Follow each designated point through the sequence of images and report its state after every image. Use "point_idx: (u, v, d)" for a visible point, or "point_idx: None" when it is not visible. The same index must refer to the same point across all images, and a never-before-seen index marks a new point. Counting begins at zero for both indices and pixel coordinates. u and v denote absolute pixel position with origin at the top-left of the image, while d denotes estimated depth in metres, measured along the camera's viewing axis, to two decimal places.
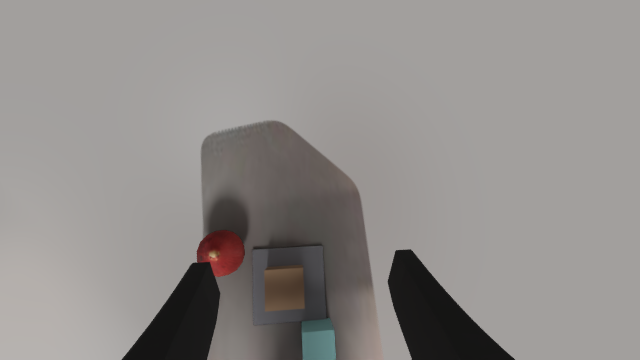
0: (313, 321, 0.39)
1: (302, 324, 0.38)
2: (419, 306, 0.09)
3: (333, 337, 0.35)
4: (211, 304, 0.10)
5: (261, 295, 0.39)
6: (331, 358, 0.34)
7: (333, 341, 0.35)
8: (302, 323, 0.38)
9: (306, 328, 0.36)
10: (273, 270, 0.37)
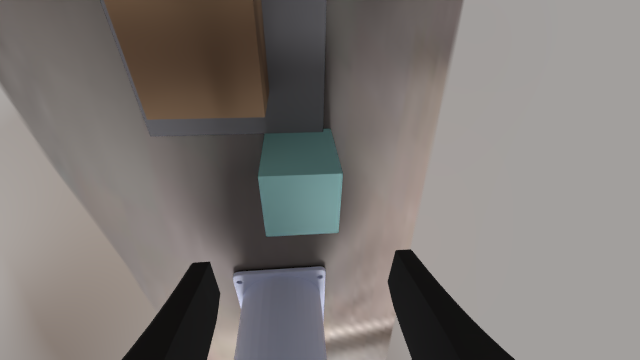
0: (292, 136, 0.16)
1: (265, 144, 0.16)
2: (419, 306, 0.09)
3: (339, 188, 0.14)
4: (211, 304, 0.10)
5: None
6: (329, 222, 0.15)
7: (337, 195, 0.14)
8: (266, 141, 0.16)
9: (271, 160, 0.14)
10: None
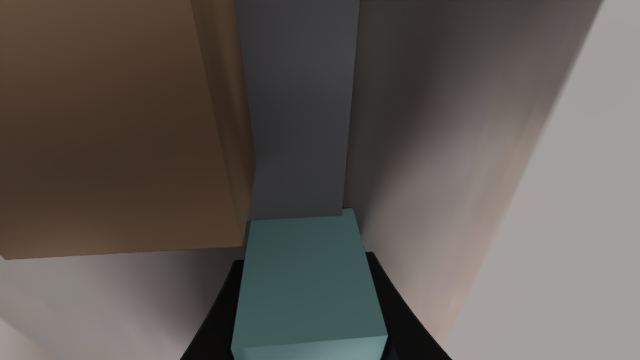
0: (294, 229, 0.10)
1: (250, 250, 0.10)
2: None
3: (378, 351, 0.08)
4: None
5: None
6: None
7: (375, 358, 0.08)
8: (251, 241, 0.10)
9: (259, 295, 0.08)
10: None
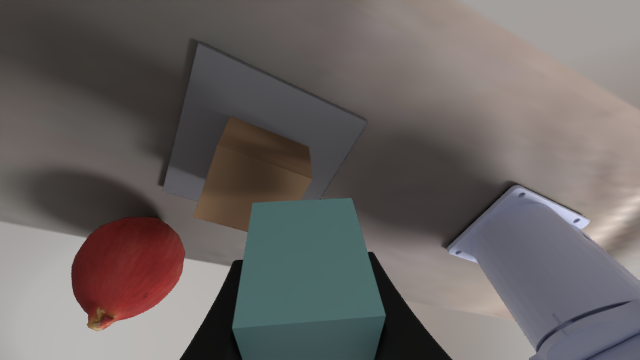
0: (294, 217, 0.11)
1: (251, 237, 0.10)
2: None
3: (376, 332, 0.08)
4: None
5: None
6: None
7: (373, 340, 0.08)
8: (252, 229, 0.10)
9: (259, 279, 0.08)
10: (200, 202, 0.15)
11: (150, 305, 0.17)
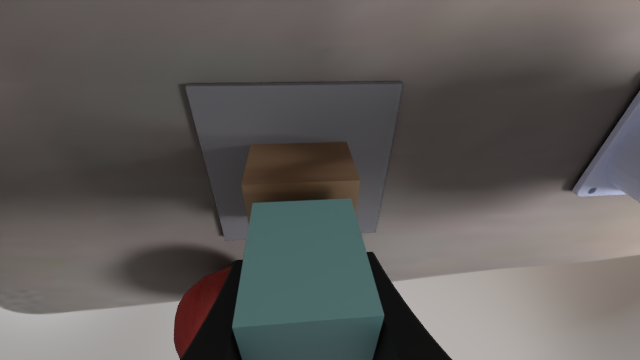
0: (294, 217, 0.11)
1: (250, 237, 0.10)
2: None
3: (375, 332, 0.08)
4: None
5: None
6: None
7: (372, 340, 0.08)
8: (252, 229, 0.10)
9: (259, 279, 0.08)
10: None
11: None
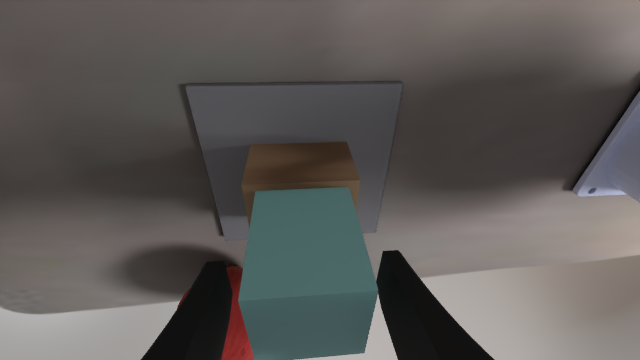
0: (295, 204, 0.11)
1: (254, 222, 0.10)
2: (404, 307, 0.09)
3: (370, 307, 0.09)
4: (225, 303, 0.10)
5: None
6: (351, 343, 0.10)
7: (367, 314, 0.09)
8: (255, 214, 0.11)
9: (262, 258, 0.09)
10: None
11: (252, 358, 0.16)
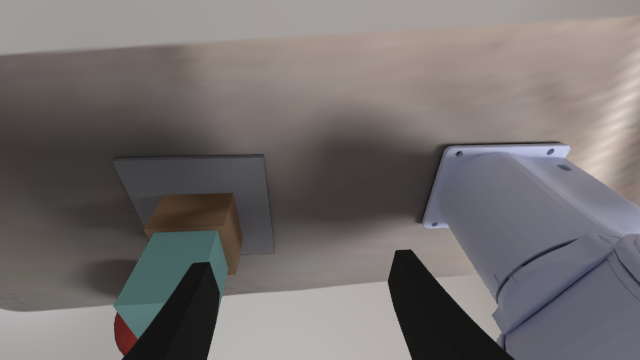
0: (175, 243, 0.17)
1: (143, 256, 0.17)
2: (419, 306, 0.09)
3: None
4: (211, 304, 0.10)
5: None
6: None
7: None
8: (146, 250, 0.17)
9: (137, 280, 0.15)
10: None
11: None
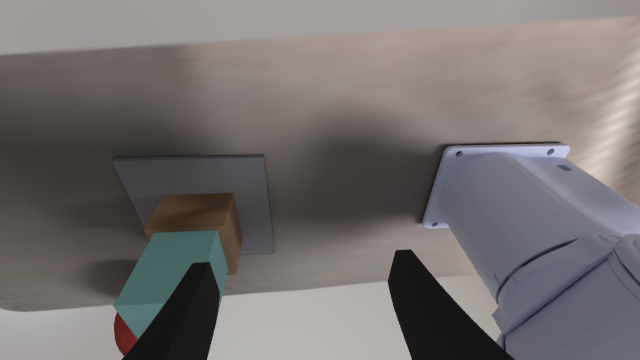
0: (175, 243, 0.17)
1: (143, 256, 0.17)
2: (419, 306, 0.09)
3: None
4: (211, 304, 0.10)
5: None
6: None
7: None
8: (146, 250, 0.17)
9: (137, 280, 0.15)
10: None
11: None
